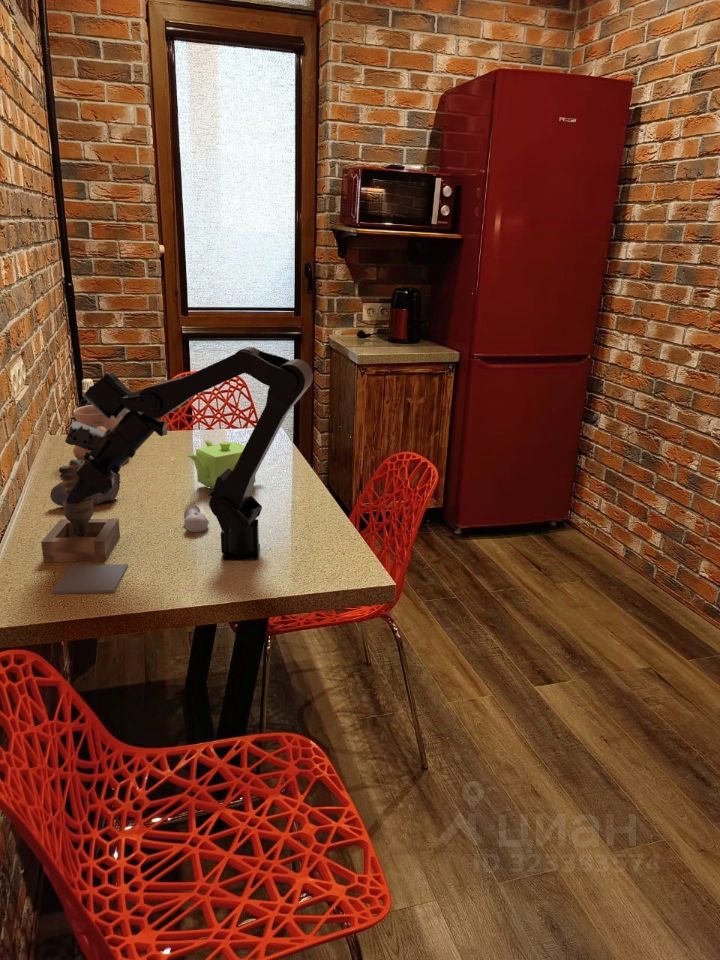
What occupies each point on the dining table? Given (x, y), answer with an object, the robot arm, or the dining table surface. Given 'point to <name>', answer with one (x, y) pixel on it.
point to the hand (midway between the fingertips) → (70, 497)
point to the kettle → (215, 460)
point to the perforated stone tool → (60, 496)
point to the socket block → (81, 541)
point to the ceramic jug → (92, 424)
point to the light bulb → (81, 509)
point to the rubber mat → (91, 579)
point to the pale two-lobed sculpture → (195, 519)
